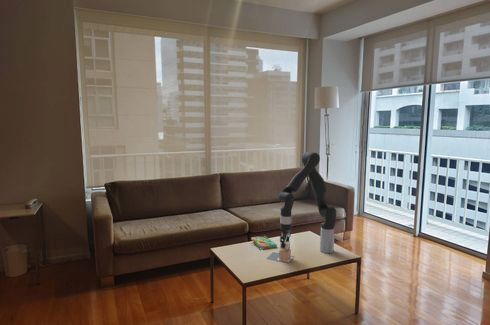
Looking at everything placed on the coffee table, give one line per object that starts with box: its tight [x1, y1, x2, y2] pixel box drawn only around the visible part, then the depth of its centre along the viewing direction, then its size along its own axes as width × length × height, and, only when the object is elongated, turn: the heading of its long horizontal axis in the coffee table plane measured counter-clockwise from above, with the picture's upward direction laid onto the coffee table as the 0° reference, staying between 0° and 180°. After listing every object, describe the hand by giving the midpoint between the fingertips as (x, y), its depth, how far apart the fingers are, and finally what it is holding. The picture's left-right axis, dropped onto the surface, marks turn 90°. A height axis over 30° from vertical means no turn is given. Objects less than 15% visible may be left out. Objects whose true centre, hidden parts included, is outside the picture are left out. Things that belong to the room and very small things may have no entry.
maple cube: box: [279, 240, 291, 252], centre depth 216 cm, size 5×5×5 cm
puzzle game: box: [250, 235, 278, 250], centre depth 243 cm, size 12×5×20 cm
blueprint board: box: [265, 251, 296, 265], centre depth 218 cm, size 16×13×2 cm
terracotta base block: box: [278, 248, 292, 261], centre depth 216 cm, size 6×6×6 cm
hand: (285, 245), depth 216 cm, fingers open, 8 cm apart
